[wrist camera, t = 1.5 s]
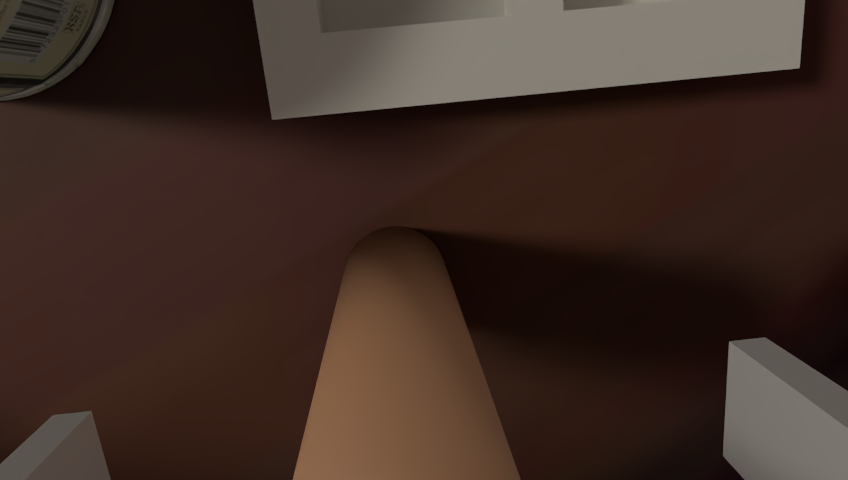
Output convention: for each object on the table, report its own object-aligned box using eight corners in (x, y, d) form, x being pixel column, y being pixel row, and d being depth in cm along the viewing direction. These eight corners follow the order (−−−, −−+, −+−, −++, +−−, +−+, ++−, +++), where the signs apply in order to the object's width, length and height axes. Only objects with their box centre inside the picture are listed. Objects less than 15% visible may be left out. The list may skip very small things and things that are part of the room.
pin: (351, 328, 22) (295, 688, 9) (338, 232, 21) (251, 470, 8) (449, 316, 22) (546, 654, 9) (441, 221, 21) (536, 436, 8)
